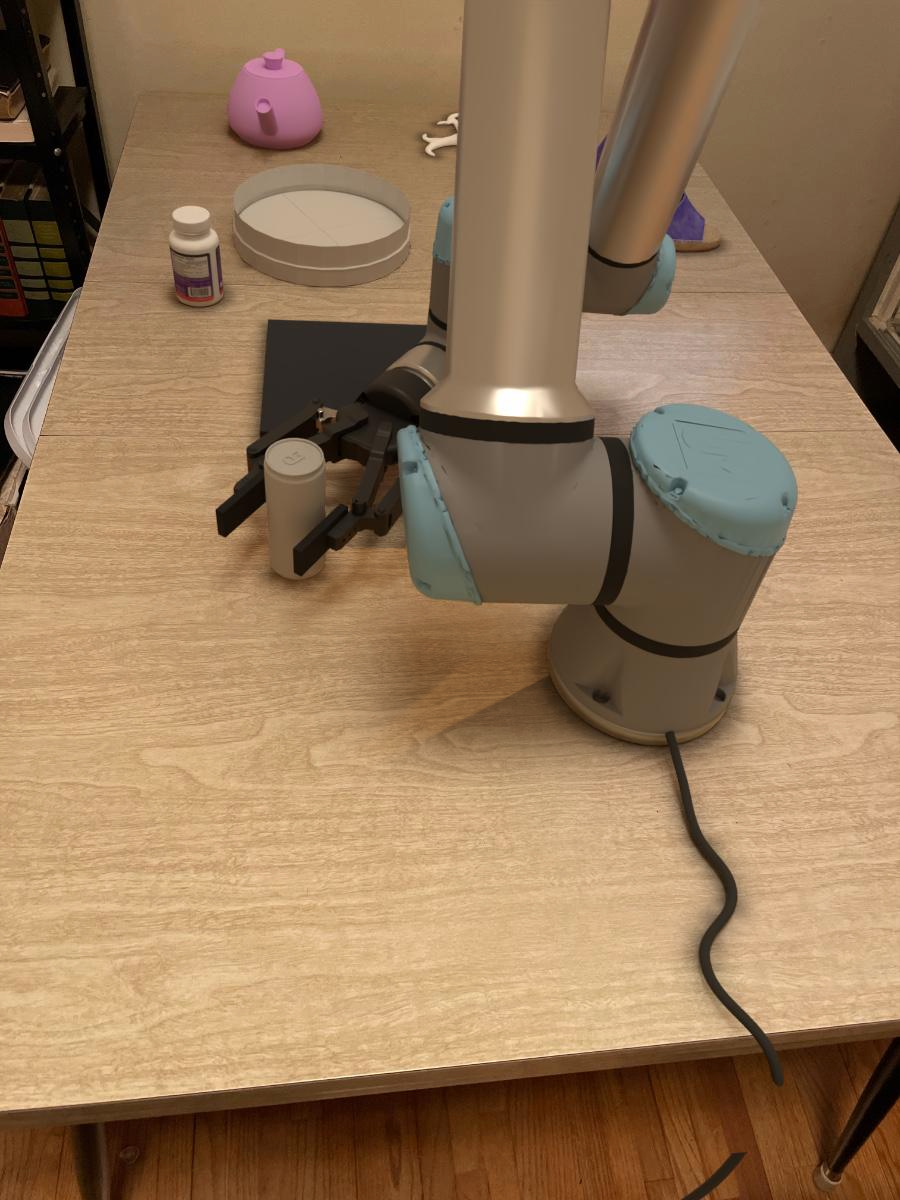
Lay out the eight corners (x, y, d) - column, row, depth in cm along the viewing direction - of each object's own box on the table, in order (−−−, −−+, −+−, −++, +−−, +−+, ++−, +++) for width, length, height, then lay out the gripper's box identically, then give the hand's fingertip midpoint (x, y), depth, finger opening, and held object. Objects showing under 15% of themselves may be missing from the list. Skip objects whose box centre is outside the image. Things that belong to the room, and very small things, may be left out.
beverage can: (337, 565, 84) (338, 458, 75) (295, 592, 81) (291, 485, 73) (300, 536, 86) (297, 428, 77) (258, 561, 83) (250, 453, 75)
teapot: (216, 159, 134) (210, 77, 127) (238, 103, 148) (233, 26, 140) (316, 168, 135) (315, 88, 127) (328, 112, 149) (328, 36, 141)
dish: (443, 263, 121) (447, 225, 117) (285, 303, 111) (284, 263, 108) (353, 188, 132) (354, 151, 129) (203, 219, 123) (200, 180, 119)
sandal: (719, 262, 128) (755, 147, 117) (572, 234, 129) (595, 119, 118) (719, 234, 134) (755, 122, 122) (579, 208, 135) (601, 95, 124)
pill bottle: (197, 278, 113) (188, 197, 106) (233, 293, 112) (227, 212, 105) (165, 297, 110) (154, 215, 103) (203, 313, 108) (194, 231, 101)
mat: (461, 443, 97) (462, 435, 96) (260, 439, 95) (259, 431, 94) (445, 332, 110) (446, 325, 110) (268, 326, 108) (267, 318, 107)
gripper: (497, 474, 90) (361, 628, 76) (323, 397, 96) (166, 527, 81) (509, 409, 85) (364, 561, 70) (323, 331, 90) (154, 457, 76)
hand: (258, 542), depth 76 cm, fingers open, 7 cm apart
